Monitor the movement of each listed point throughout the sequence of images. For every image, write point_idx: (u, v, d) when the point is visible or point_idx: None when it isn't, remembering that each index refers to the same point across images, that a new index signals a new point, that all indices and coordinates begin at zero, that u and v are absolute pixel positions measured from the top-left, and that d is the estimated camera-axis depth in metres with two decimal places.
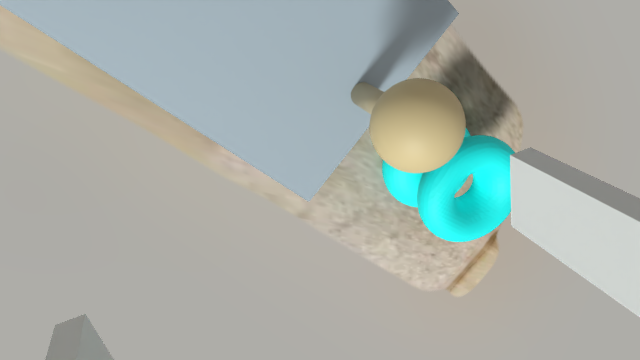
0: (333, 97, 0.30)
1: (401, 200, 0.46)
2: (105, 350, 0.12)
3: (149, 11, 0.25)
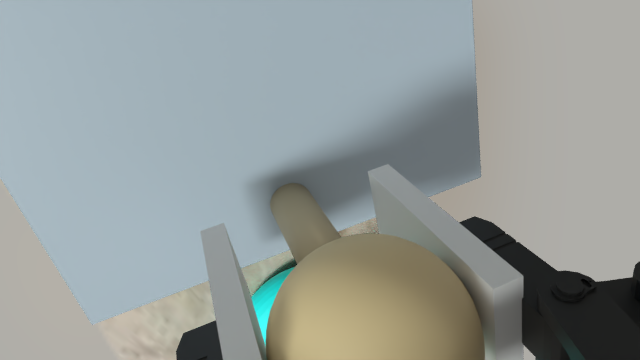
0: (244, 180, 0.16)
1: None
2: None
3: None
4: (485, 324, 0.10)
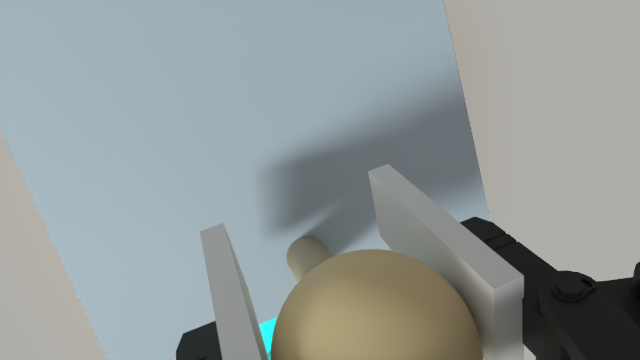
0: (261, 233, 0.18)
1: None
2: (234, 256, 0.15)
3: None
4: (485, 324, 0.10)
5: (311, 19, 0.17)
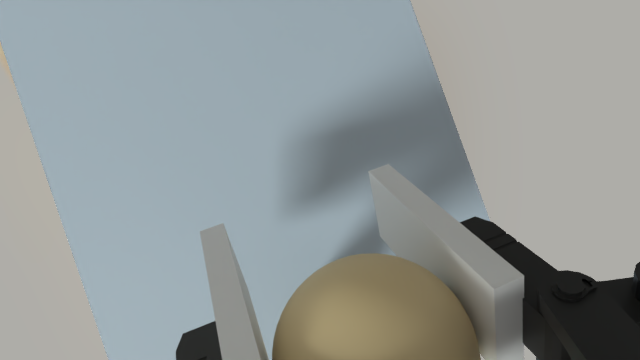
0: (277, 279, 0.18)
1: None
2: (234, 256, 0.15)
3: (114, 22, 0.18)
4: (486, 324, 0.10)
5: (316, 84, 0.19)
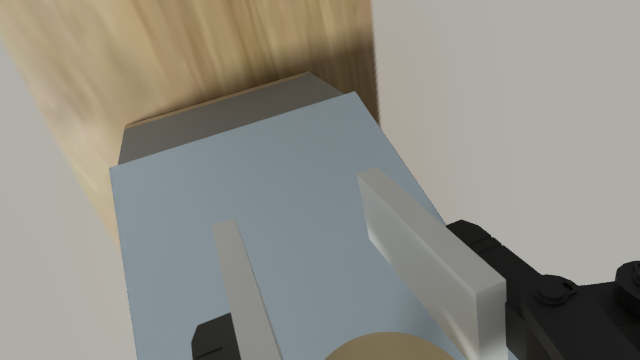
0: None
1: None
2: None
3: (200, 232, 0.25)
4: (469, 328, 0.10)
5: (353, 258, 0.23)
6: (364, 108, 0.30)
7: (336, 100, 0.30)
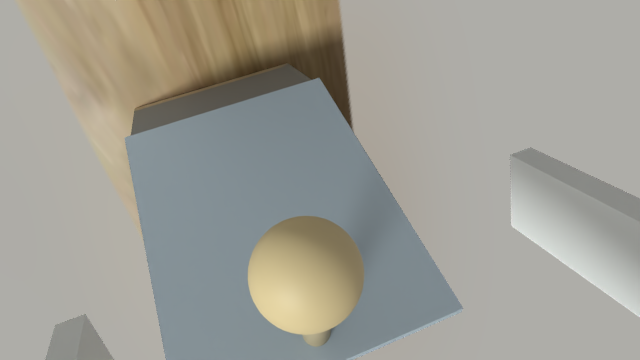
0: None
1: None
2: (105, 349, 0.12)
3: (194, 183, 0.32)
4: None
5: (308, 200, 0.31)
6: (325, 91, 0.38)
7: (304, 84, 0.38)
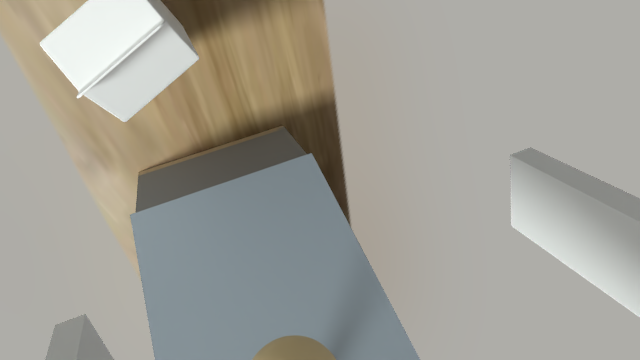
0: None
1: None
2: (105, 349, 0.12)
3: (195, 263, 0.35)
4: None
5: (300, 282, 0.34)
6: (317, 167, 0.40)
7: (297, 160, 0.41)
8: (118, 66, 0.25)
